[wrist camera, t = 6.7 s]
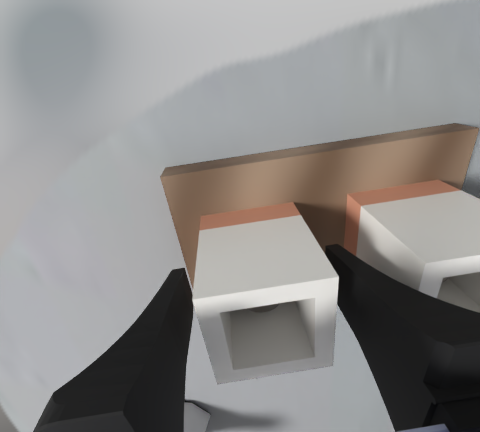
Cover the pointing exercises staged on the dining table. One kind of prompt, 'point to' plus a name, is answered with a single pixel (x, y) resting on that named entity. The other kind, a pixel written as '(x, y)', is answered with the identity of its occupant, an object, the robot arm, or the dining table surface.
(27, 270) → the dining table surface
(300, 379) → the dining table surface
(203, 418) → the flask
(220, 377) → the sleeve
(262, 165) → the pin board
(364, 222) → the seated sleeve
